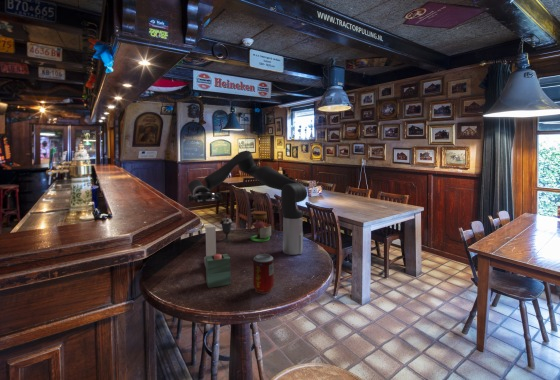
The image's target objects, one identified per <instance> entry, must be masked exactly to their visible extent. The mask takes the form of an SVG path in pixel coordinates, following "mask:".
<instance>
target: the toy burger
mask: <svg viewBox="0 0 560 380" xmlns="http://www.w3.org/2000/svg"><path fill="white" fill-rule="evenodd" d="M267 213H268V212H267V211H264V210H255V211H254V212H253V213H252V214H253V215H252V216H253V217H252V219H253V220H257V221H256V222H255V223H254V224H253V227H254V230H256V232H255V235H252V236H250V241H253V242H257V243H259V242H260V243H261V242H262V243H263V242H267V241H269V240H271V239H270V237H271V236H272V224H270V223H268V224H269V226H265V224H264V222H263V220H267V219H268V217H267V216H268V215H267Z"/></svg>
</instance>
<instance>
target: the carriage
mask: <svg viewBox="0 0 560 380" xmlns="http://www.w3.org/2000/svg"><path fill="white" fill-rule="evenodd" d="M216 231H217V230H216V226H215V224H207V225H205V255H206V256H213V255H215V254H217V238H216V237H217V236H216V235H217V234H216ZM206 256H204V257H203V261H204V267H205V268H206Z"/></svg>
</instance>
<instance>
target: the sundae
mask: <svg viewBox="0 0 560 380" xmlns="http://www.w3.org/2000/svg"><path fill="white" fill-rule="evenodd" d="M230 214H231V212H228V214H227V215H225V216H224V217H223V218H222V219H220V222H219V224H221V229H222V232H223V234H225V238H223V239H222V241H223V242H225V243H226V242H231V241H232V238H229V234H230V233H231V230H232V224H233V221H232V219H231V217H230V216H229V215H230Z"/></svg>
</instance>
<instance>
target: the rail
mask: <svg viewBox="0 0 560 380" xmlns="http://www.w3.org/2000/svg"><path fill="white" fill-rule="evenodd" d="M220 254H221V253H220ZM221 255H222V259H216V260H214V255H213V256H205V257H206V267H205V278H206V280H205V281H206V285H207V287H208V289H210V288H216V287H223V286H229V285H231V283H232V281H231V280H232V279H231V277H232V276H231V275H232V274H231V257H230V256H229V254H228V253H223V254H221Z"/></svg>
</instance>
